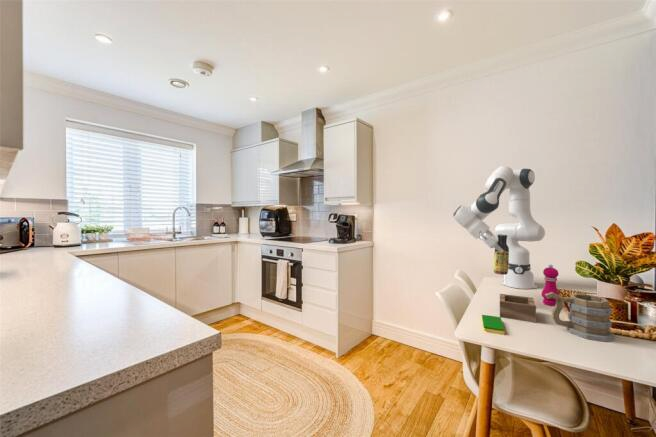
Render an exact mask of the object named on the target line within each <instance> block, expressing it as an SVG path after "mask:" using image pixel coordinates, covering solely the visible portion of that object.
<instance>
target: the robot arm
mask: <svg viewBox="0 0 656 437" xmlns="http://www.w3.org/2000/svg"><path fill="white" fill-rule="evenodd" d="M535 178H536V176H535V172H534V171H533V170H532V169H531V168H518V169H512V167H509V166H508V165H501V166H498V167H497V168H496V169H494V170H493V172H492V173H491V174H490V175H489V176H488V178H487V180H486V181H485V184H484V188H485V190H486V192H482V194H480V195H479V196H478V198H477V199H476V200H475V201H474V202H473V203H472V204H469V205H462V204H461V205H459V207H458V208H457V209H456V210H455V211H454V212H453V216H452V217H453V218H454V219H455V221H456V222H457V223H458V224H459V225H460V226H461V227H462V228H464V229H465V230H466V231H467V232H468V233H469V234H470V235H471V236H472V237H473V238H474V239H475V240H477V239H480V241H483V243H484V244H486V245H487V247H489V248H490V249H493V248H494V250H495V249H496V250H498V251H499V252H500V253H502V252H504V250H503V249H502V248H501V247H500V246H499V245H498V244H497V243H498V234H503V235H507V245H508V247H509V264H508V273H507V274H506V275H503V280H501V281H500V285H502V286H503V285H504V286H506V287H509V288H513V289H522V290H530V289H538V285H537V284H535V282H534V281H535V280H534V278H535V277H534V276H535V275H534V273H533V272H532V271H531V263H530V251H529V250H528V249H527V248H525V247H524V246H522V245H520V244H519V242H540V241H542V240H543V239H544V237H545V235H546V231H545V228H544V227H543V226H542V225H541V224H539V223H538V222H537V221H536V220H535V219H534V218H533V215H532V212H531V192H530V187H531V186H533V184H534V182H535ZM508 189H509V193H508V203H507V204H508V205H507V206H508V207H507V213H508V214H509V216H511V217H514V218H515V219H518V222H504V223H499V224H496V226H495V228H494V233H493V232H492V231H491V229H490V228H491V227H490V225H488V224H487V223H485V222H484V221H483V220H484V219H486V218H487V217H489V215H491V213H493V212H494V211H496V210H497V209H498V208H499V205H500V197H501V196H502V194H503V193H504V192H505V191H506V190H508Z"/></svg>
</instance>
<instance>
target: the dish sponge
mask: <svg viewBox="0 0 656 437" xmlns="http://www.w3.org/2000/svg"><path fill="white" fill-rule="evenodd" d="M481 321H482V323H483V324H482V327H483V328H482V329H483V330H482V331H483V332H484V331H486V332H485V333H489V334H490V333H491V334H497V335H503V336H505V334H506V333H505V330H506V329H505V326H504V324H503V320H502V317H500V316H495V315H494V316H493V315H488V314H486V315H485V314H481Z"/></svg>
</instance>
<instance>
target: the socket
mask: <svg viewBox="0 0 656 437" xmlns="http://www.w3.org/2000/svg"><path fill="white" fill-rule="evenodd" d="M499 317H501V318H505V319H511V320H516V321H517V320H518V321H521V322H522V321H523V322H527V323H535V324H536V323H537V306H536V303H535V300H534V297H529V296H522V295H521V296H520V295H514V294H506V293H499Z"/></svg>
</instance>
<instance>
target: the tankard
mask: <svg viewBox="0 0 656 437" xmlns="http://www.w3.org/2000/svg"><path fill="white" fill-rule="evenodd" d="M545 296H546V297H547V298H548V299H549V298H552V297H553V298H555V299H556V304H555V306H553V309H552V310H551V317H552V320H553V321H554V322H555V324H556V325H558V326H561V327H565V328H566V330H567V331H568V332H569V333H570V334H572V335H573V336H576V337H580V338H583V339H586V340H590V341H591V340H592V341H597V342H607V341H612V340H615V334H614V333H612V331H610V329H611V328H612V326H613V325H612V323H613V322H612V320H611V319H610V315H612V314H613V312H612V311H613V309H612V307H611V306H610V301H609V300H608V299H607V298H605V297H603V296H598V295H595V294H587V293H573V294H570V295H569V297H566V296H565V297H564V296H562V295H560V296H559V295H557V294H555V293H553V292H550V293H548V294H545ZM564 303H567V306H568V307H569V311H568V312H567V318H568V320H563V319H560V314H561V311H562V309H563V306H564Z"/></svg>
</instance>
